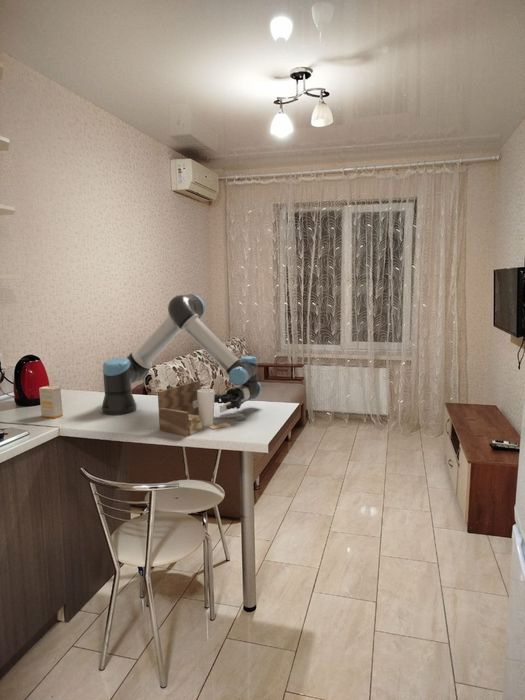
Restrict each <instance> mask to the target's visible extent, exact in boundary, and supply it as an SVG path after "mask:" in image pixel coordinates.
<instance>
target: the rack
mask: <svg viewBox="0 0 525 700" xmlns="http://www.w3.org/2000/svg"><path fill="white" fill-rule="evenodd" d="M199 389H201V385H200V380H196V381H192V382H188V383H186V384H183V385H179V386H175V387H172V388H168V389H164V390H161V391H157V406H158V422H159V423H158V424H159V425H158V426H159V431H160V432H164V433H168V434H173V435H178V436H184V437H188V436H190V435H189V418H188V414H190V415H199V410H198V407H196V408H193V401H195V400H197V390H199ZM203 430H204V428H202V430H201V431H203Z"/></svg>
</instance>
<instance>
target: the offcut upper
mask: <svg viewBox="0 0 525 700" xmlns="http://www.w3.org/2000/svg"><path fill="white" fill-rule="evenodd" d="M188 418H189V426H193V425H195V424H197V423H199V422H200V416H199V415H190V414H188Z"/></svg>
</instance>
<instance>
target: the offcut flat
mask: <svg viewBox="0 0 525 700" xmlns="http://www.w3.org/2000/svg"><path fill="white" fill-rule="evenodd" d="M207 427H208V428H209V429H211V430H213V431H214V430H219V429H223V428H229V427H232V425H231V424H229V423H228V422H224V423H219V424H213V425H211V426H207Z"/></svg>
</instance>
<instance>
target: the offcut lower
mask: <svg viewBox="0 0 525 700" xmlns="http://www.w3.org/2000/svg"><path fill="white" fill-rule="evenodd" d="M202 429H203V426H202V422H199V423H197V424H195V425H193V426H189V436H191V435H193V434H196V433H198V432H200V431H203V430H202Z"/></svg>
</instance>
